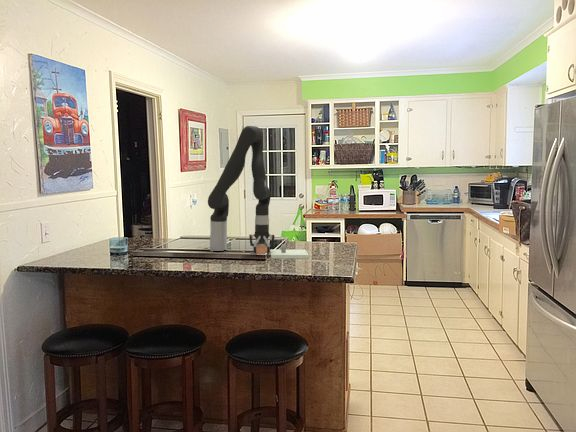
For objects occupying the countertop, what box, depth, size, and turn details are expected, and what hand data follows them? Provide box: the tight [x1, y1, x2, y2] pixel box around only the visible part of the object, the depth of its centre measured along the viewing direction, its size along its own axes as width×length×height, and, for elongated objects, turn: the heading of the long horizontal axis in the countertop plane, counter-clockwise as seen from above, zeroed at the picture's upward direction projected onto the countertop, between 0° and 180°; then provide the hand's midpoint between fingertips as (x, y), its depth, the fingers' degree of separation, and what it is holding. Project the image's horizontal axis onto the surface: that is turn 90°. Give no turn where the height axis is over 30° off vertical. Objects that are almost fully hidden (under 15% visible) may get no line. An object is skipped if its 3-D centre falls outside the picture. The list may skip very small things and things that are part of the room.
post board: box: [269, 243, 310, 260], centre depth 262 cm, size 20×14×6 cm
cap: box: [255, 243, 267, 255], centre depth 261 cm, size 6×6×6 cm
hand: (261, 253), depth 262 cm, fingers closed on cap, 6 cm apart
